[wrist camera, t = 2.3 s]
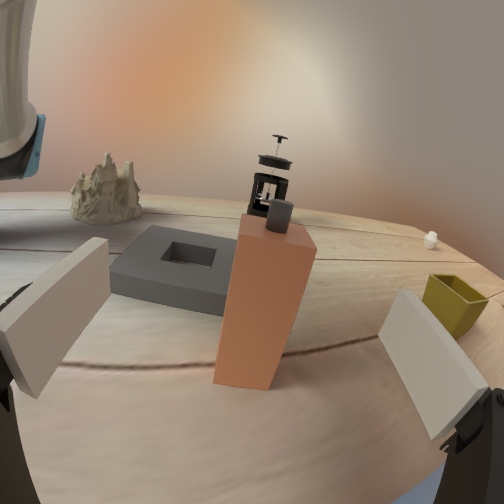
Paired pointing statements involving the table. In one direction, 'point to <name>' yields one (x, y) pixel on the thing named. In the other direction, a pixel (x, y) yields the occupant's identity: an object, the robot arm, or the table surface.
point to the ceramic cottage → (106, 195)
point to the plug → (262, 296)
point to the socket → (175, 269)
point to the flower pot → (453, 303)
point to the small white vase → (430, 240)
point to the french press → (281, 183)
